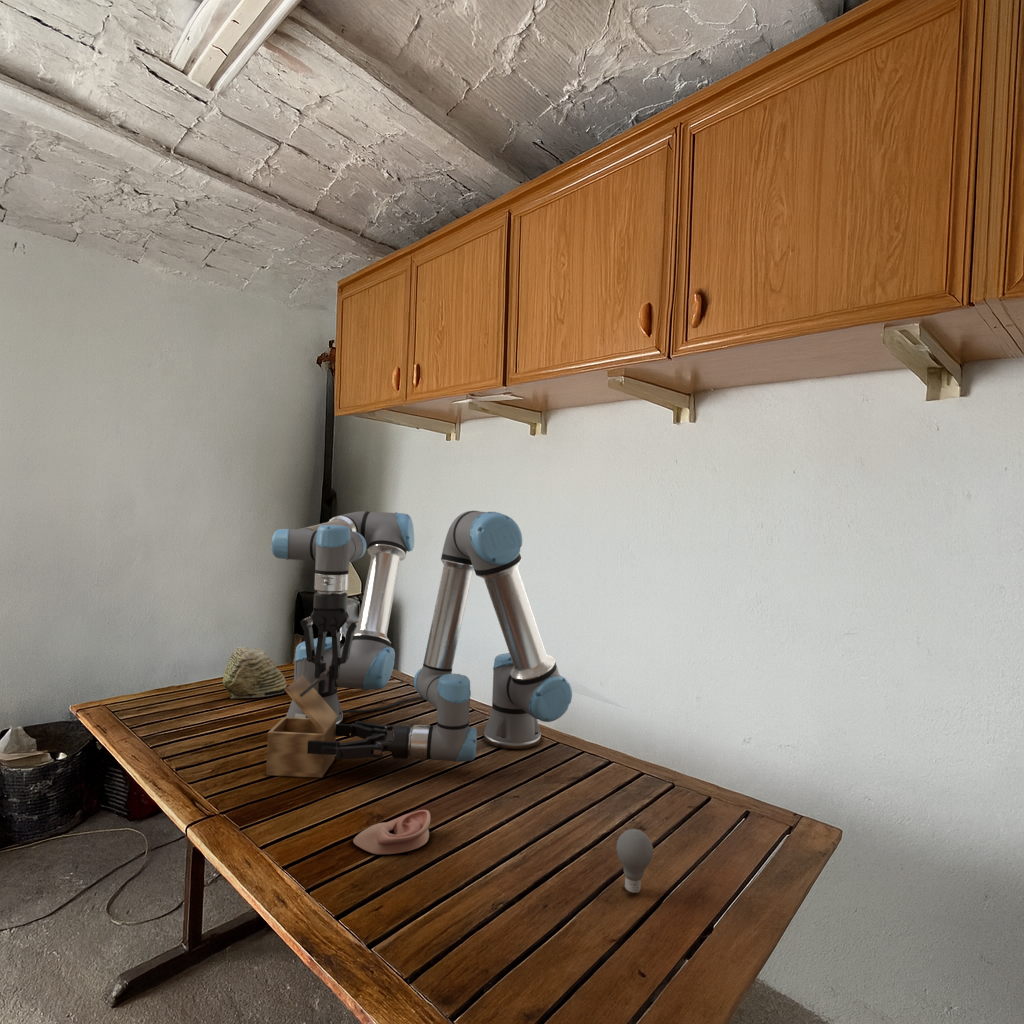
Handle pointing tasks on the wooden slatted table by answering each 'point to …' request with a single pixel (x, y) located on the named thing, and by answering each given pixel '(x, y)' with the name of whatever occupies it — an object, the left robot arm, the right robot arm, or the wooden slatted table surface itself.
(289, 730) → the chest
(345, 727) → the right robot arm
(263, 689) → the fossil
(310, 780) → the wooden slatted table surface
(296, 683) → the lid
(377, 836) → the anatomical model
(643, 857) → the light bulb
